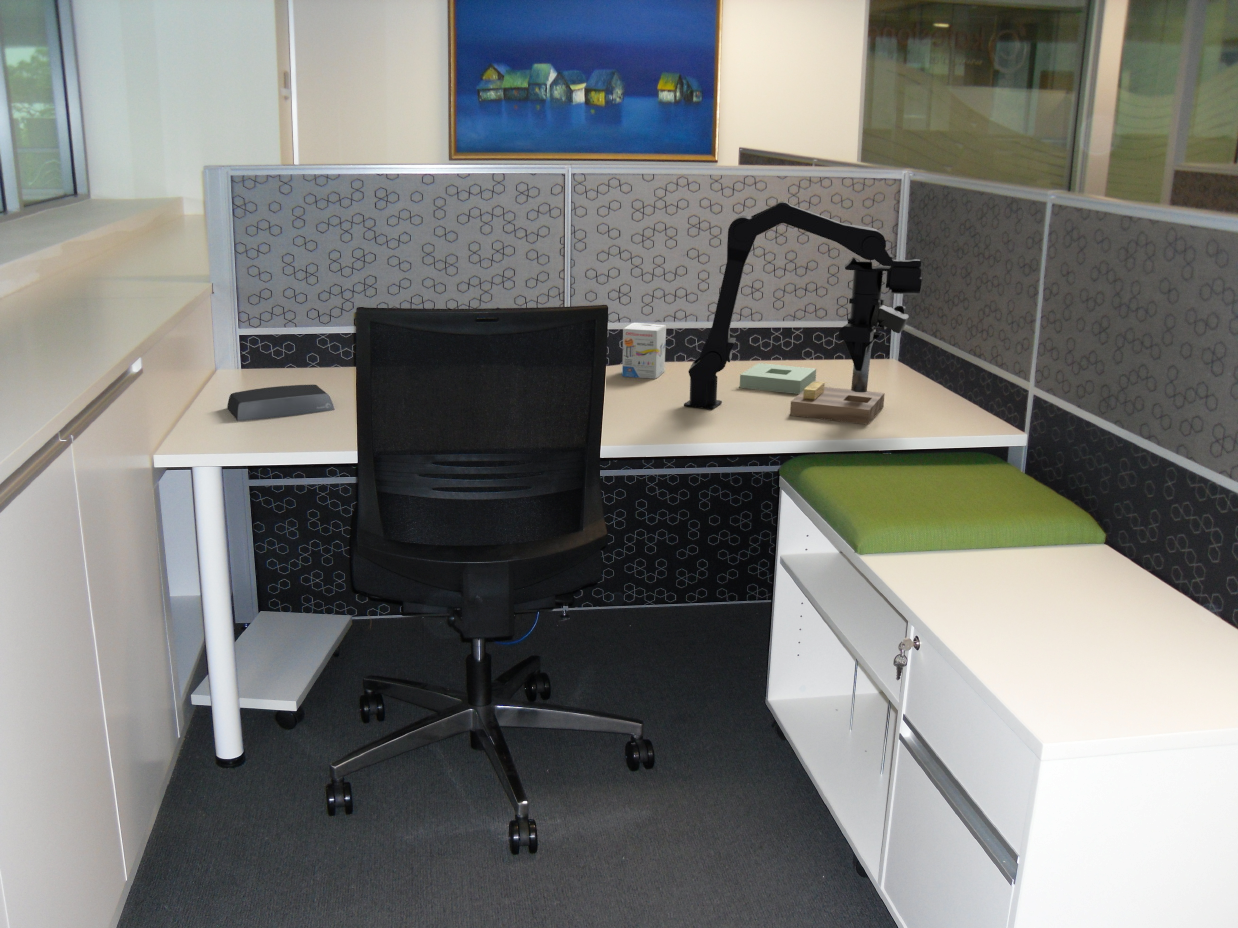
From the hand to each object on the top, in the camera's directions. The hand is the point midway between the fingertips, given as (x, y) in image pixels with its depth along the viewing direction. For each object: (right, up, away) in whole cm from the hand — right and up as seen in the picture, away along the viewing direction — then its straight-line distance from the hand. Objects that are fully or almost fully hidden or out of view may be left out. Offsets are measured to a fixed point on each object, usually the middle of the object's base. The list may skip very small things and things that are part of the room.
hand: (860, 369), depth 217 cm
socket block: (-4, -8, +4) cm, 10 cm away
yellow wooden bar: (-9, -5, +4) cm, 11 cm away
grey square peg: (0, -4, +1) cm, 4 cm away
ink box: (-44, +2, +36) cm, 57 cm away
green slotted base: (-13, -1, +27) cm, 30 cm away
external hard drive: (-119, -9, +2) cm, 120 cm away
